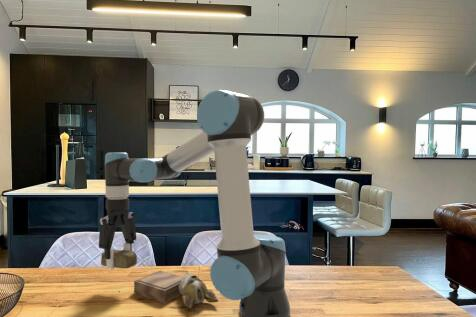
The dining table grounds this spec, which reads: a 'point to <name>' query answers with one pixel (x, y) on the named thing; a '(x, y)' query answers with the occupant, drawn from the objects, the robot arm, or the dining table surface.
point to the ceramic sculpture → (195, 291)
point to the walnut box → (159, 286)
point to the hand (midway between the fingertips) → (118, 264)
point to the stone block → (121, 259)
